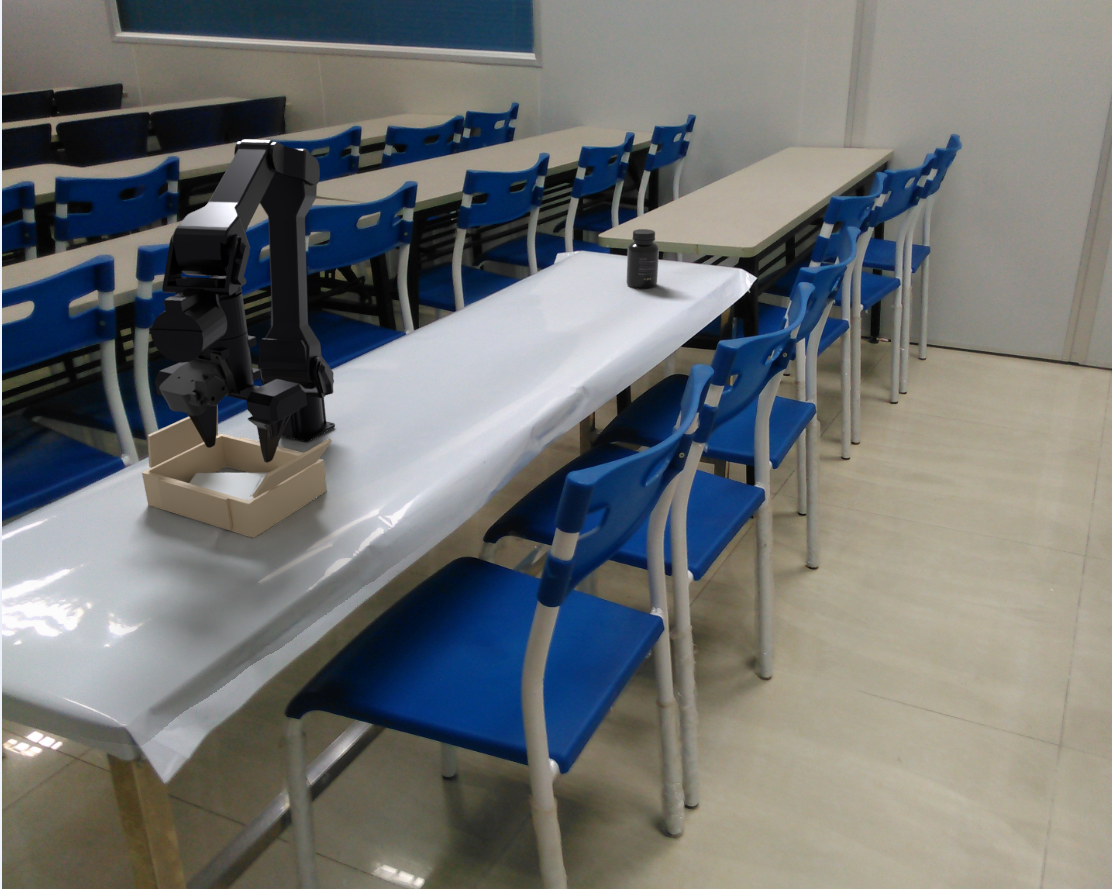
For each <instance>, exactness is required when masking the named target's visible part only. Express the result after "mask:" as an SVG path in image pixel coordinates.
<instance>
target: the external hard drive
mask: <svg viewBox="0 0 1112 889" xmlns="http://www.w3.org/2000/svg"><path fill="white" fill-rule="evenodd" d="M267 474H268V473H248V472H215V473H196V474H195V475H194V477H193V478H192V480H191V481H190V484H193V485H196V486H200V487H203V488H207V489H210V490H213V491H217V492H220V493H224V494H227V495H231V496H234V497H237V498H241V499H244V500H248V501H249V500H251V499H252V498H253V496H252V495H253V494H254V492H255V491H256V489H257V488H258V486H259V485H260V484H261V482H262V481H263V479H264V478H265V476H266V475H267Z"/></svg>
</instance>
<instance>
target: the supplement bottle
mask: <svg viewBox="0 0 1112 889" xmlns="http://www.w3.org/2000/svg"><path fill="white" fill-rule="evenodd" d="M632 241H633V242H631V243H630V244H629V245H628V247H627V260H626V285H627V286H628V287H629V288H632V287H633V289H637V288H639V290H644V289H645V290H646V289H652V288H655V287H656V286H657V285H658V277H659V276H658V272H659V255H660V253H659V252H660V247H659V246H658V244H657V243H655V241H656V232H655V230H653V229H647V228H645V229H644V228H642V229H641V228H639V229H634V230H633V231H632Z"/></svg>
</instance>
